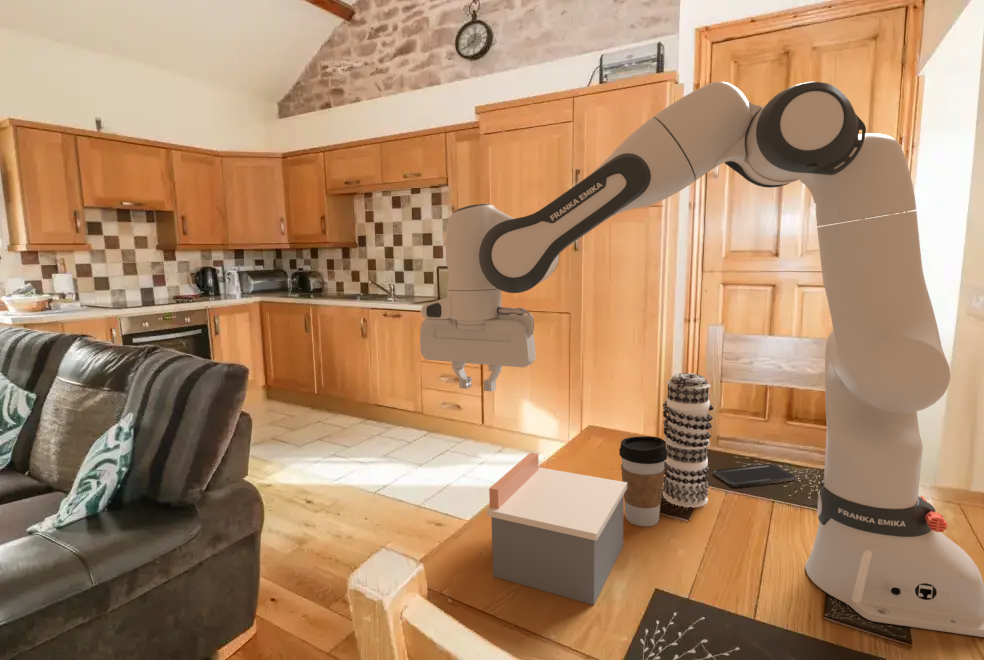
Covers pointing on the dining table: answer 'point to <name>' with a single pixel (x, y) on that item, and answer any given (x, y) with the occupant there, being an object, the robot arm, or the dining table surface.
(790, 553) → the dining table surface
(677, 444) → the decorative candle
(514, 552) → the storage box
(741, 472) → the phone
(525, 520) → the lid
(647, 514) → the coffee cup
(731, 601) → the dining table surface
